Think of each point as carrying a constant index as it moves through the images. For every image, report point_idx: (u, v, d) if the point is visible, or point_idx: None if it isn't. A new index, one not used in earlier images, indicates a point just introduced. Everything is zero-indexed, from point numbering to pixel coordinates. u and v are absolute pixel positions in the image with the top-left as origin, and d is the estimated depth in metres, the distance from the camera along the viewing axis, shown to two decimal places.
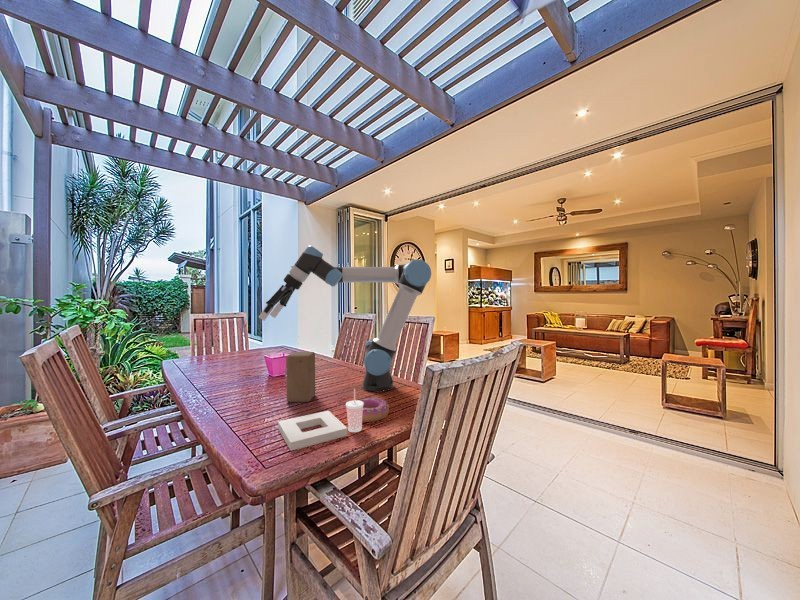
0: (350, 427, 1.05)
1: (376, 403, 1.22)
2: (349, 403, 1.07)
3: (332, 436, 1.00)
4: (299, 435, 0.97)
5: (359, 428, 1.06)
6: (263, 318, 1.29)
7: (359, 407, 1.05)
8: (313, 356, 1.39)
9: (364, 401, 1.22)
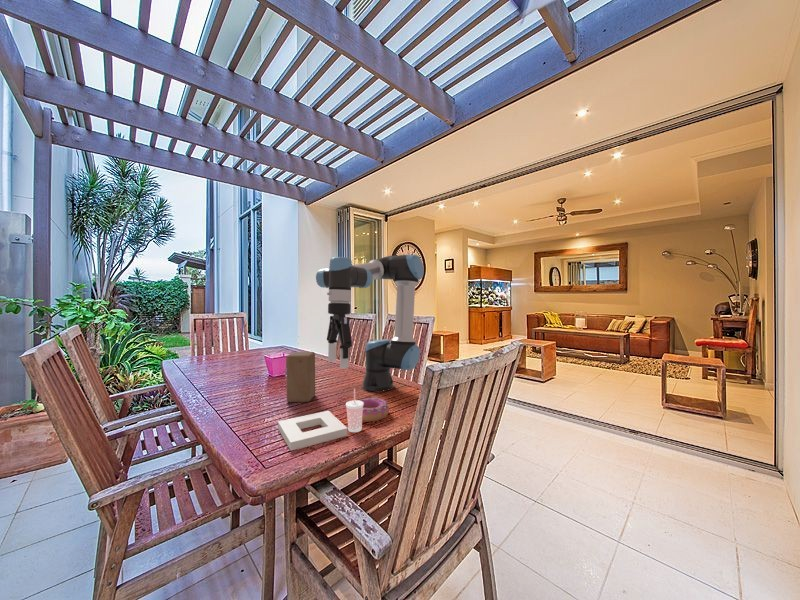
0: (350, 427, 1.05)
1: (376, 403, 1.22)
2: (349, 403, 1.07)
3: (332, 436, 1.00)
4: (299, 435, 0.97)
5: (359, 428, 1.06)
6: (346, 366, 1.01)
7: (359, 407, 1.05)
8: (313, 356, 1.39)
9: (364, 401, 1.22)
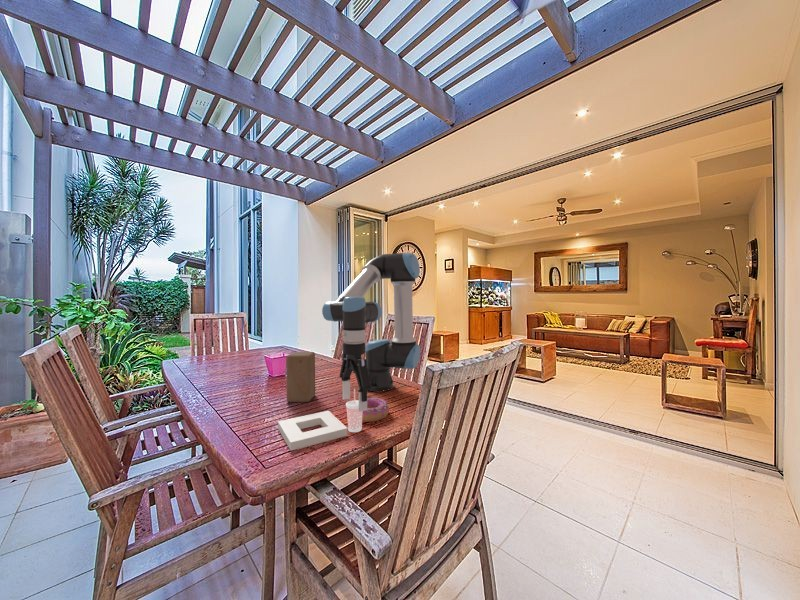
0: (350, 427, 1.05)
1: (376, 403, 1.22)
2: (349, 403, 1.07)
3: (332, 436, 1.00)
4: (299, 435, 0.97)
5: (359, 428, 1.06)
6: (365, 408, 1.01)
7: None
8: (313, 356, 1.39)
9: None
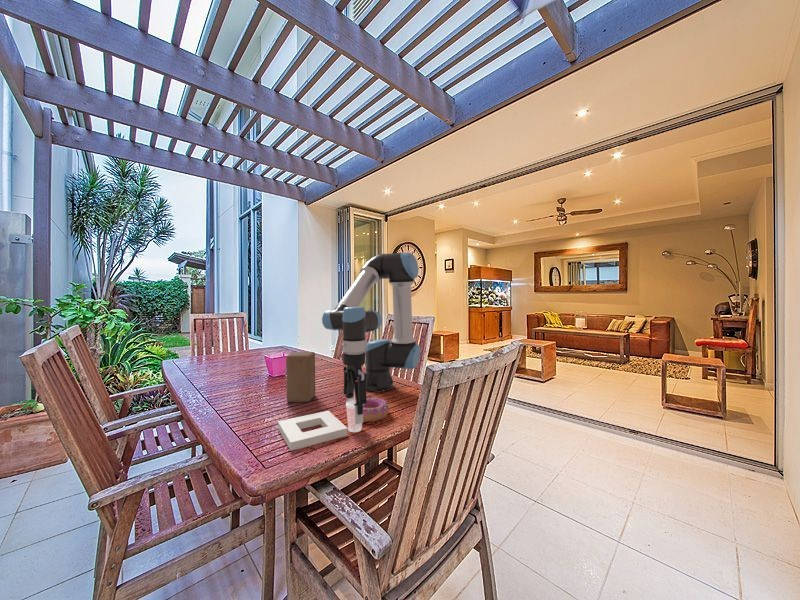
0: (350, 427, 1.05)
1: (376, 403, 1.22)
2: (349, 403, 1.07)
3: (332, 436, 1.00)
4: (299, 435, 0.97)
5: (359, 428, 1.06)
6: (361, 421, 1.04)
7: None
8: (313, 356, 1.39)
9: None
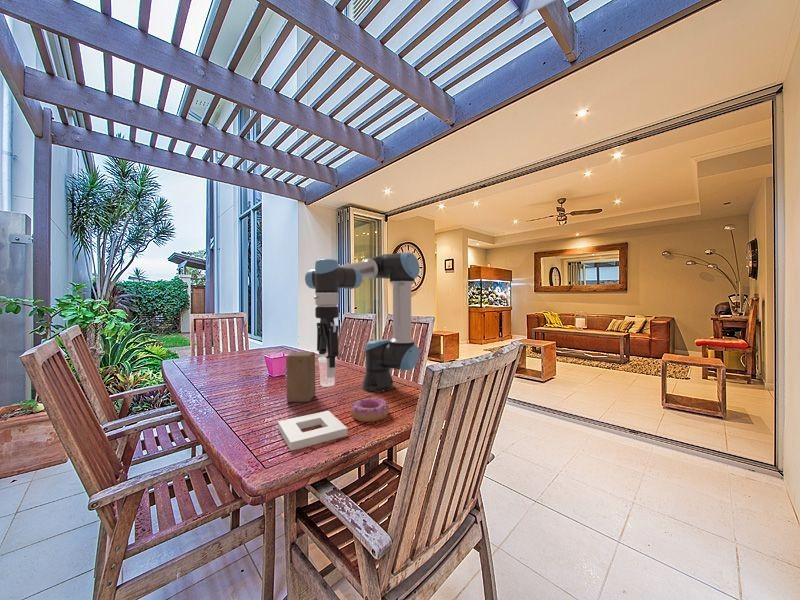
0: (322, 381, 1.03)
1: (376, 403, 1.22)
2: (322, 358, 1.05)
3: (332, 436, 1.00)
4: (299, 435, 0.97)
5: (332, 383, 1.04)
6: (333, 374, 1.02)
7: None
8: (313, 356, 1.39)
9: (364, 401, 1.22)
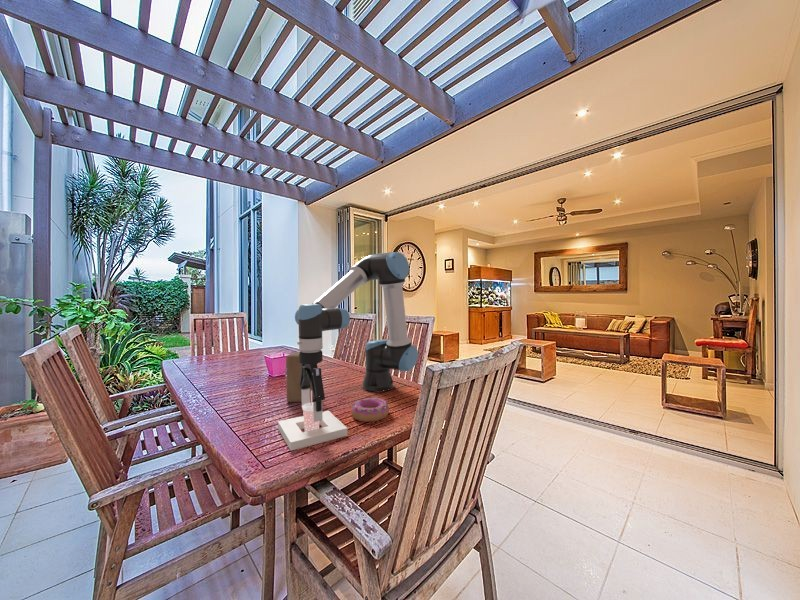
0: (306, 430, 1.03)
1: (376, 403, 1.22)
2: (306, 405, 1.05)
3: (332, 436, 1.00)
4: (299, 435, 0.97)
5: None
6: (320, 418, 0.99)
7: None
8: None
9: (364, 401, 1.22)
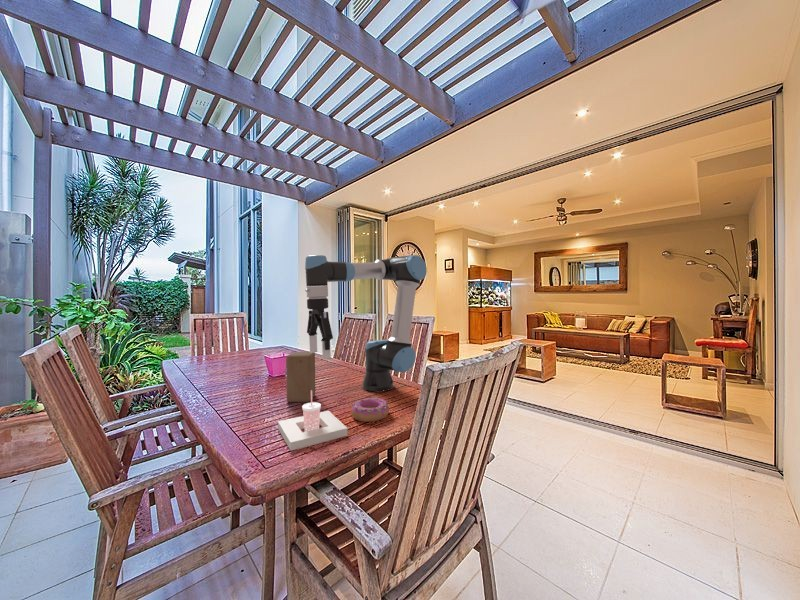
0: (306, 430, 1.03)
1: (376, 403, 1.22)
2: (306, 405, 1.05)
3: (332, 436, 1.00)
4: (299, 435, 0.97)
5: None
6: (329, 356, 1.10)
7: (315, 409, 1.03)
8: (313, 356, 1.39)
9: (364, 401, 1.22)
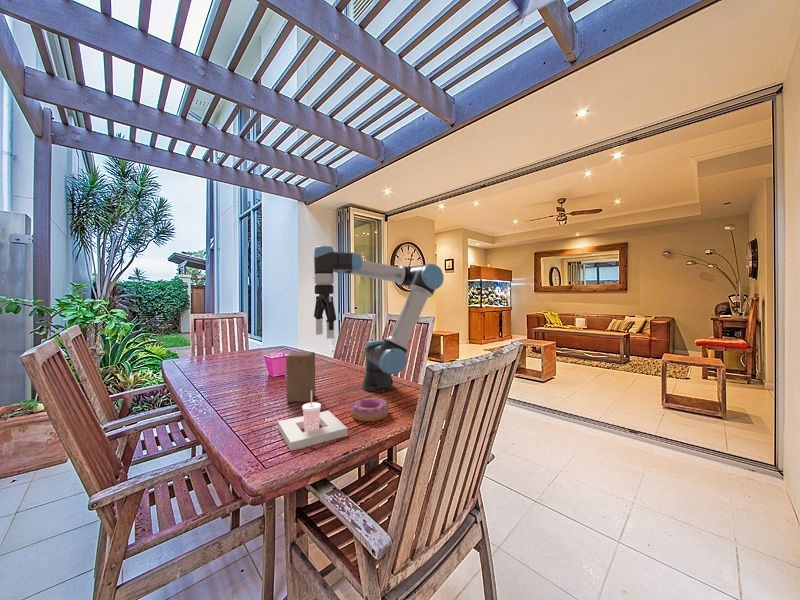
0: (306, 430, 1.03)
1: (376, 403, 1.22)
2: (306, 405, 1.05)
3: (332, 436, 1.00)
4: (299, 435, 0.97)
5: None
6: (332, 336, 1.23)
7: (315, 409, 1.03)
8: (313, 356, 1.39)
9: (364, 401, 1.22)
